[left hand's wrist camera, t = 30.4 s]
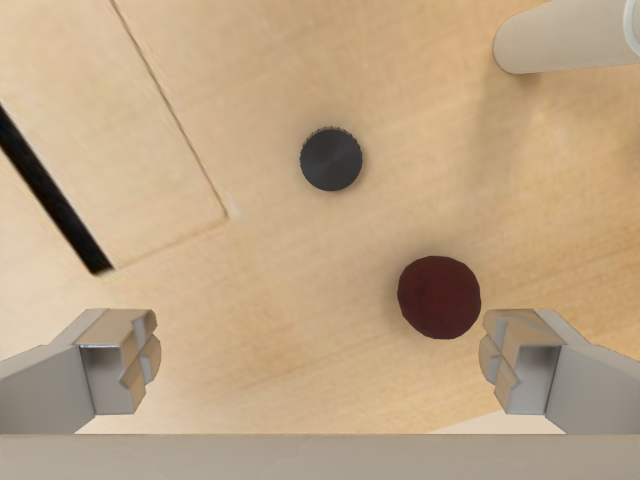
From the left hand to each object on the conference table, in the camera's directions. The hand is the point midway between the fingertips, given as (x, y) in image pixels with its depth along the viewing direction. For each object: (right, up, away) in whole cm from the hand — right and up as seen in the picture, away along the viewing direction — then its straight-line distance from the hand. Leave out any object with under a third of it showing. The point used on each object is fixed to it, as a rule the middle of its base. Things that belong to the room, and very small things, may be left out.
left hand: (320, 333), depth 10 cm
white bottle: (+16, +18, +23) cm, 34 cm away
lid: (+1, +9, +25) cm, 27 cm away
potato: (+11, -2, +31) cm, 33 cm away
